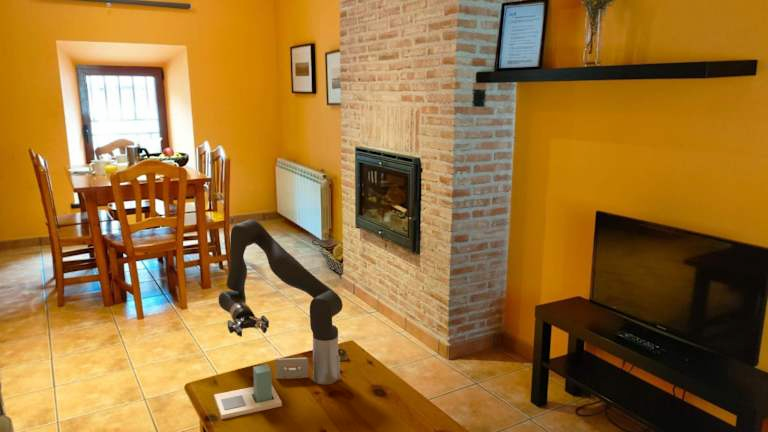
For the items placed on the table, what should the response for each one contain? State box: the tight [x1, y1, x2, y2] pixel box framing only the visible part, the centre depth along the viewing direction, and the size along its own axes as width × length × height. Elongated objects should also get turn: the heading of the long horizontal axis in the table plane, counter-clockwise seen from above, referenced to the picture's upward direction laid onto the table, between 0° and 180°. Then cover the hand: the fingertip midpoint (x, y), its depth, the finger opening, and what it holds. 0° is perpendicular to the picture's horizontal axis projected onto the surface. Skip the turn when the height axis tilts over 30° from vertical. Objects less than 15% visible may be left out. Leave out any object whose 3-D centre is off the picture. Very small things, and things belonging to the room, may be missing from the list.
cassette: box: [275, 357, 309, 380], centre depth 215 cm, size 12×2×8 cm, turn 97°
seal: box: [338, 347, 349, 362], centre depth 233 cm, size 9×5×15 cm
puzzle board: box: [213, 385, 283, 420], centre depth 198 cm, size 20×14×2 cm
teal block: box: [252, 364, 273, 403], centre depth 198 cm, size 5×5×12 cm
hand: (253, 332), depth 205 cm, fingers open, 8 cm apart
